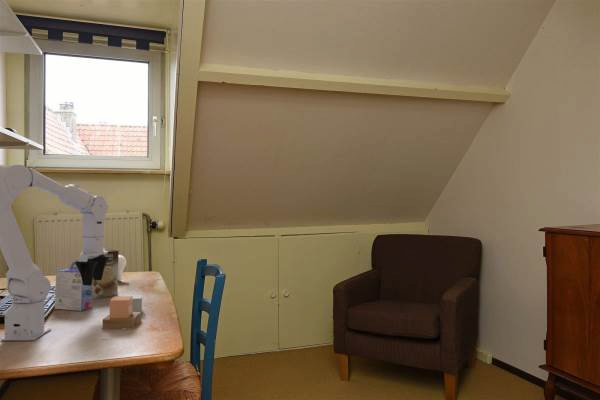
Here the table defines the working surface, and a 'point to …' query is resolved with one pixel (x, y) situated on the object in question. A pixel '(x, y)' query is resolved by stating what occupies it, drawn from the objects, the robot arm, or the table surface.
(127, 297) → the terracotta cube
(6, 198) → the robot arm
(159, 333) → the table surface
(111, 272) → the coffee box
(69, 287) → the ink cartridge box
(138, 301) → the grey cube
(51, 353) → the table surface
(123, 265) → the lightbulb
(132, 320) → the walnut block
